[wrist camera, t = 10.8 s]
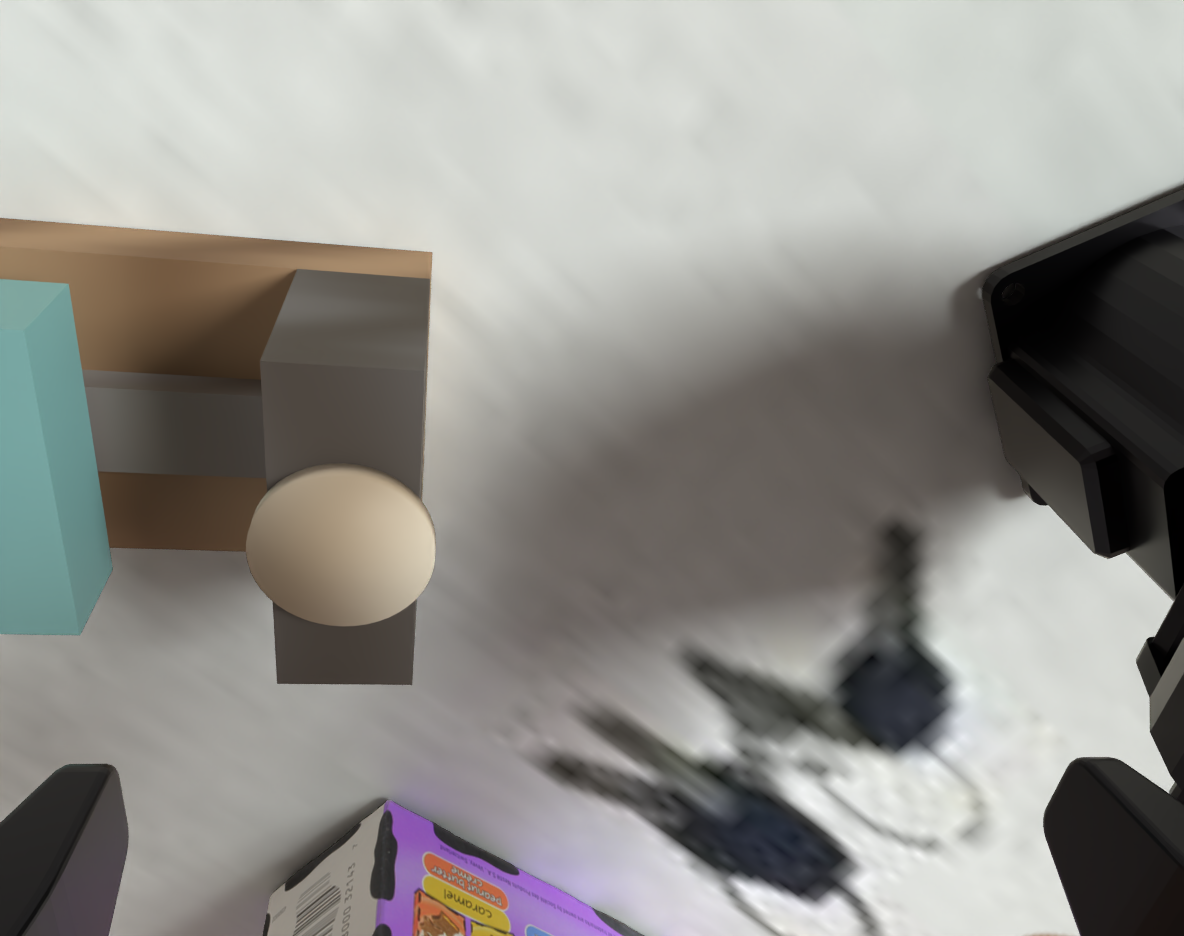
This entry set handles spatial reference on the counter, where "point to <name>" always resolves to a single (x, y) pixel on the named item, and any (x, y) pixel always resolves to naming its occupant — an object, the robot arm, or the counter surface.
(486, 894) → the candy box
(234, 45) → the counter surface
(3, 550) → the carriage
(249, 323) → the rail
